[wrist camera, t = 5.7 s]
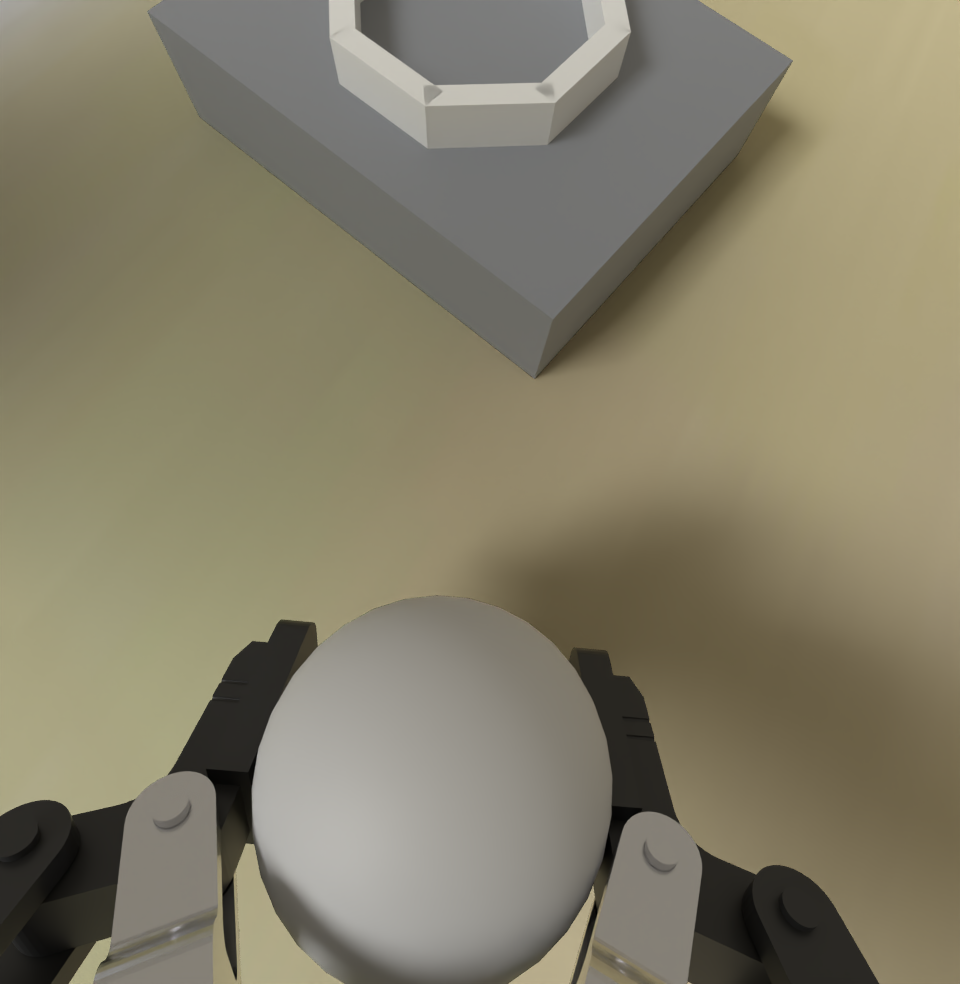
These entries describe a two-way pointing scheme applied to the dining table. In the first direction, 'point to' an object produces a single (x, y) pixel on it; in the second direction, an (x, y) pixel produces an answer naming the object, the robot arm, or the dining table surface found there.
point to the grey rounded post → (431, 796)
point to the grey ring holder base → (484, 134)
